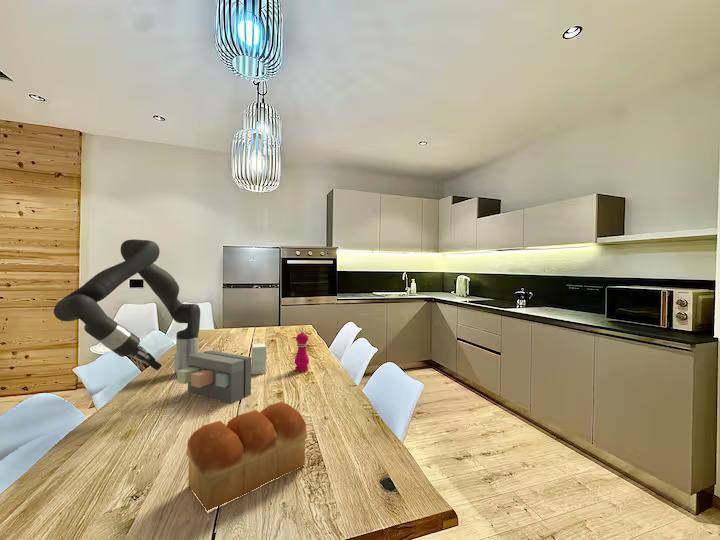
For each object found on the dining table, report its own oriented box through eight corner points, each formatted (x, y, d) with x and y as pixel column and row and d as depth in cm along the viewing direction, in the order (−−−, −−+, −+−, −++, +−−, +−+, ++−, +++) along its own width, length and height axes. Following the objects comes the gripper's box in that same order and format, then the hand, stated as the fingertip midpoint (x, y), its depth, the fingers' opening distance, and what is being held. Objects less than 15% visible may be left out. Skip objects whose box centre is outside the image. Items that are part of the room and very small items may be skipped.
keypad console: (187, 392, 132) (188, 355, 132) (208, 384, 141) (209, 350, 141) (231, 403, 122) (231, 363, 122) (250, 394, 131) (251, 357, 131)
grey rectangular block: (215, 385, 123) (215, 373, 123) (232, 379, 130) (232, 368, 130) (224, 387, 121) (224, 375, 121) (240, 381, 128) (240, 369, 128)
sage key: (177, 382, 126) (177, 370, 126) (195, 376, 133) (195, 365, 133) (184, 384, 124) (184, 372, 124) (202, 377, 131) (203, 367, 131)
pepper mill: (310, 368, 167) (311, 329, 167) (306, 372, 160) (307, 331, 160) (296, 367, 167) (297, 328, 167) (292, 372, 160) (293, 331, 160)
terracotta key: (191, 385, 122) (191, 373, 122) (209, 379, 129) (209, 368, 129) (199, 387, 120) (199, 375, 120) (217, 381, 128) (217, 369, 128)
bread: (205, 516, 66) (206, 444, 66) (185, 487, 75) (186, 423, 75) (306, 466, 84) (307, 408, 84) (281, 446, 93) (281, 395, 93)
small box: (266, 373, 157) (266, 346, 157) (252, 374, 155) (252, 347, 155) (264, 368, 165) (265, 343, 165) (251, 370, 163) (252, 343, 163)
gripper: (136, 333, 107) (175, 362, 117) (121, 328, 114) (158, 355, 124) (117, 352, 102) (159, 380, 112) (102, 346, 110) (143, 373, 120)
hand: (158, 367), depth 118 cm, fingers closed
